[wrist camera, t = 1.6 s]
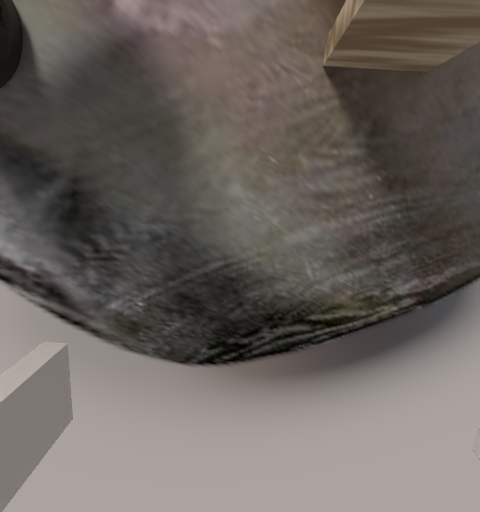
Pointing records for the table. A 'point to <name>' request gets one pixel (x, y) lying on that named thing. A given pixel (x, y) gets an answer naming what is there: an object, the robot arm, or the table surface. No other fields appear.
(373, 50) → the bridge
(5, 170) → the table surface
